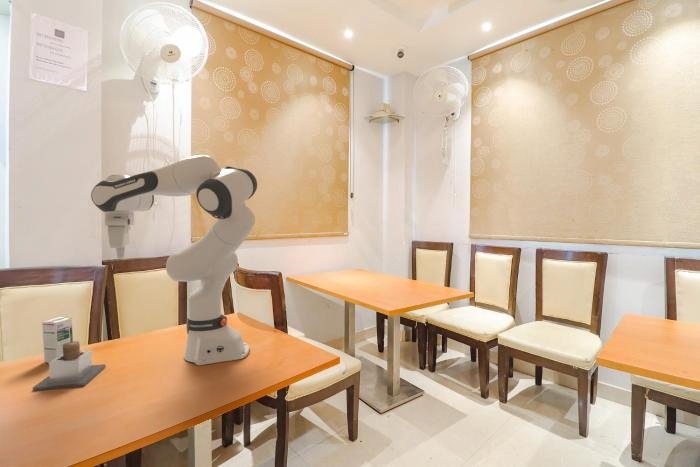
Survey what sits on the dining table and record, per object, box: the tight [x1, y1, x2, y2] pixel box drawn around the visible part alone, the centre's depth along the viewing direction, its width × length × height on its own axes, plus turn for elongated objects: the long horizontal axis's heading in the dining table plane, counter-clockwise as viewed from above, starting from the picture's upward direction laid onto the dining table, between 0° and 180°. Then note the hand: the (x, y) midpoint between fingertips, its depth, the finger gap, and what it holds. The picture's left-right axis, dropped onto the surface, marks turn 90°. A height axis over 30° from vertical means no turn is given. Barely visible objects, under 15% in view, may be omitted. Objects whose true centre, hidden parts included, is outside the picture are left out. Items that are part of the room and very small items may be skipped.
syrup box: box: [41, 316, 74, 364], centre depth 119 cm, size 6×6×14 cm
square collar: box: [32, 350, 106, 392], centre depth 106 cm, size 13×13×7 cm
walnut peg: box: [63, 340, 81, 360], centre depth 106 cm, size 4×4×10 cm
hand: (120, 258), depth 124 cm, fingers closed
